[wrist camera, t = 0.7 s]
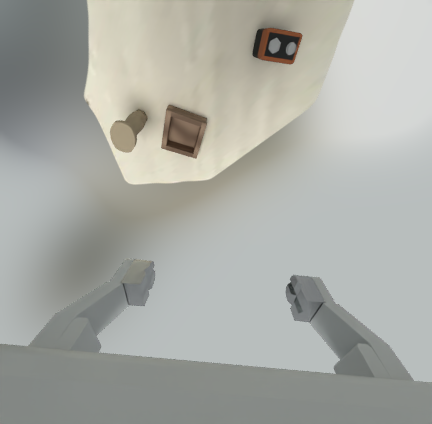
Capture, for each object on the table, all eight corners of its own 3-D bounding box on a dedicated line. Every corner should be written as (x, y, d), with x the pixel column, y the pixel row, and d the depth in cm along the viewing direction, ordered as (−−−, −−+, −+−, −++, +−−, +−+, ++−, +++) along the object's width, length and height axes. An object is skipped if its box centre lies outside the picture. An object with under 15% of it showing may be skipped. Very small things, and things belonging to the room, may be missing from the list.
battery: (257, 29, 37) (269, 26, 30) (287, 34, 38) (306, 33, 31) (251, 56, 40) (261, 60, 33) (279, 60, 41) (295, 65, 34)
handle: (151, 106, 46) (135, 126, 35) (149, 130, 50) (134, 154, 40) (131, 99, 45) (109, 118, 34) (131, 124, 49) (111, 148, 38)
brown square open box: (169, 104, 46) (166, 109, 43) (206, 118, 49) (206, 124, 46) (163, 141, 53) (161, 148, 50) (196, 151, 56) (196, 158, 52)
